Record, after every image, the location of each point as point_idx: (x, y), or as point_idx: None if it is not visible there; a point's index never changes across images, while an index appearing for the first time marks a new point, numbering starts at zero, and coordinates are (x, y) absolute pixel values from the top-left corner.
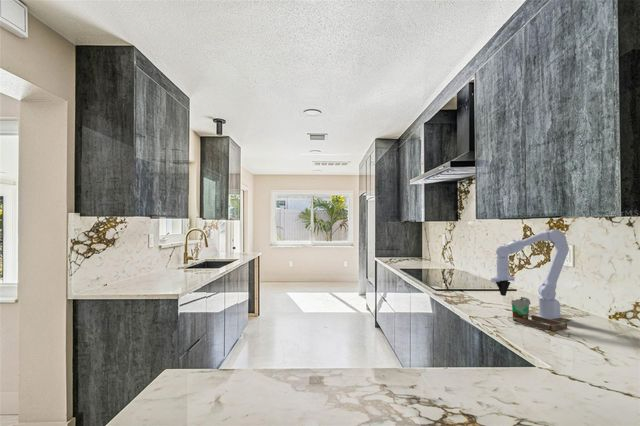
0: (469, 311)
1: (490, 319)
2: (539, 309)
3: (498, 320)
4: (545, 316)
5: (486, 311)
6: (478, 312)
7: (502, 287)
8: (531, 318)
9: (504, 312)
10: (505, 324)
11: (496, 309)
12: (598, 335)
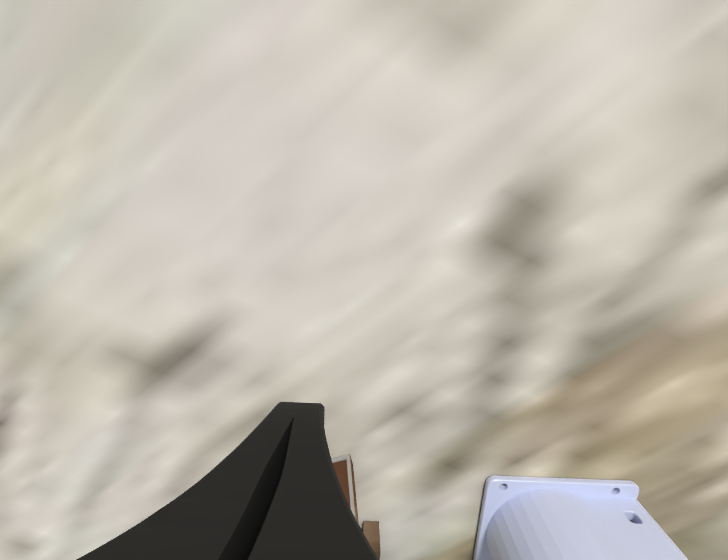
0: (72, 84)
1: (63, 400)
2: (520, 556)
3: (104, 444)
4: (490, 555)
5: (249, 176)
6: (136, 169)
7: None
8: (363, 528)
9: (378, 289)
10: (72, 528)
11: (423, 158)
12: None
